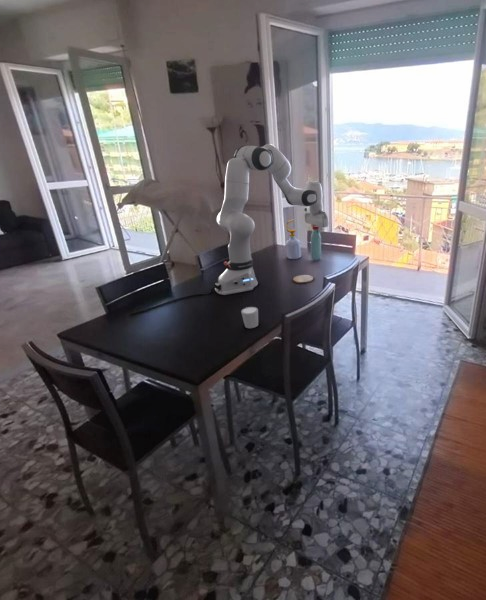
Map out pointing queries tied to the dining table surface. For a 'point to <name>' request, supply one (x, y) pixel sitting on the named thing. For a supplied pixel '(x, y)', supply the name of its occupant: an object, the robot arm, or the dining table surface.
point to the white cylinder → (250, 317)
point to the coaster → (303, 279)
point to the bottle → (315, 245)
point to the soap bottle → (293, 245)
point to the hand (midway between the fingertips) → (316, 232)
